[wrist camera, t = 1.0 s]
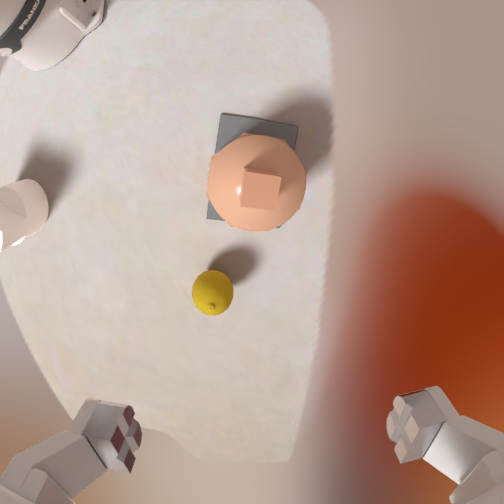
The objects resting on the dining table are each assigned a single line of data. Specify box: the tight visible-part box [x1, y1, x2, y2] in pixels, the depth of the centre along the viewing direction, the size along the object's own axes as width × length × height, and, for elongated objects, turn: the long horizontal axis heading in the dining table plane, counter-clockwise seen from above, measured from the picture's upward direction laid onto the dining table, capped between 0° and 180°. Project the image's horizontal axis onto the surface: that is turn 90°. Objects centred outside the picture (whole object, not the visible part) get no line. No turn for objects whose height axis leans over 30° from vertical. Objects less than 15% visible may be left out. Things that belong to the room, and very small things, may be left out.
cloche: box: [206, 133, 307, 231], centre depth 31 cm, size 10×10×14 cm
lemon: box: [192, 270, 233, 315], centre depth 40 cm, size 6×6×8 cm
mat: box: [207, 114, 298, 228], centre depth 38 cm, size 14×10×1 cm
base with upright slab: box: [0, 179, 49, 252], centre depth 32 cm, size 9×9×12 cm
